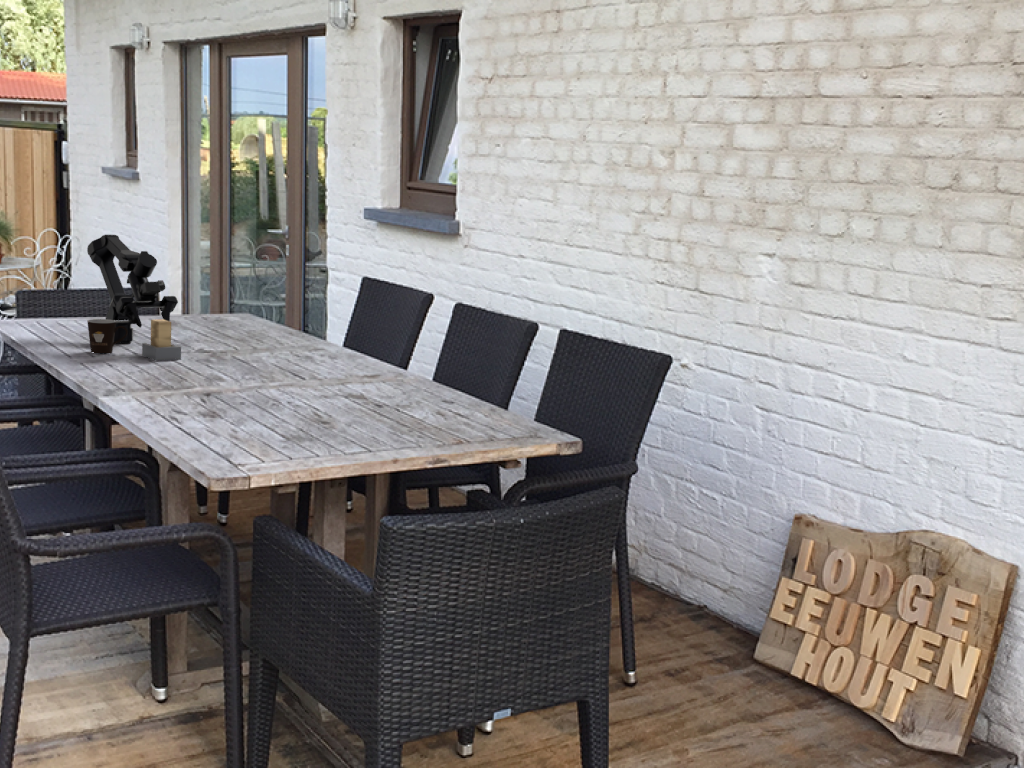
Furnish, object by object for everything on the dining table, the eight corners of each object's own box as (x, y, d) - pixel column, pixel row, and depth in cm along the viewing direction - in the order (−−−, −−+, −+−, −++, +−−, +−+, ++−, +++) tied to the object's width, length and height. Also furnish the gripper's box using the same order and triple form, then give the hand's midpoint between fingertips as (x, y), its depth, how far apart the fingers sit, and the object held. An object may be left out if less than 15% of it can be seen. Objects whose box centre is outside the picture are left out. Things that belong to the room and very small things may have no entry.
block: (150, 354, 381) (150, 319, 379) (162, 353, 383) (162, 319, 381) (158, 357, 376) (159, 322, 374) (170, 356, 379) (171, 321, 377)
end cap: (142, 355, 380) (142, 343, 380) (167, 354, 386) (167, 342, 385) (155, 360, 373) (155, 348, 372) (180, 359, 379) (181, 346, 378)
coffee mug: (81, 352, 379) (81, 320, 377) (100, 349, 387) (100, 318, 385) (111, 356, 375) (111, 325, 373) (129, 353, 383) (129, 322, 381)
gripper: (120, 271, 376) (134, 312, 370) (176, 271, 388) (190, 310, 382) (109, 293, 384) (123, 333, 378) (164, 291, 396) (179, 330, 390)
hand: (154, 326), depth 382 cm, fingers open, 9 cm apart
